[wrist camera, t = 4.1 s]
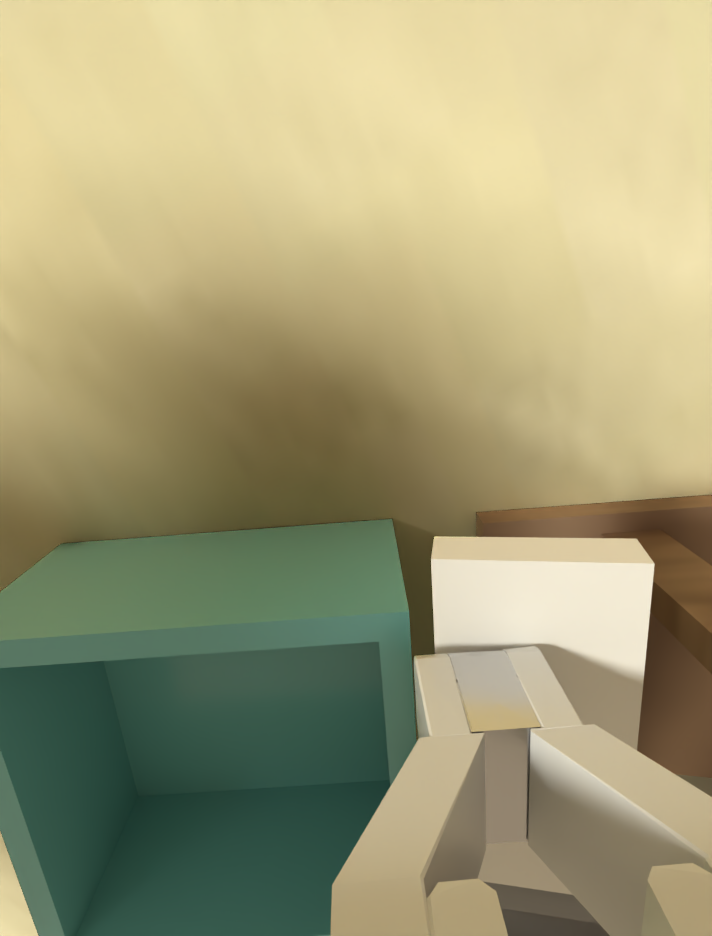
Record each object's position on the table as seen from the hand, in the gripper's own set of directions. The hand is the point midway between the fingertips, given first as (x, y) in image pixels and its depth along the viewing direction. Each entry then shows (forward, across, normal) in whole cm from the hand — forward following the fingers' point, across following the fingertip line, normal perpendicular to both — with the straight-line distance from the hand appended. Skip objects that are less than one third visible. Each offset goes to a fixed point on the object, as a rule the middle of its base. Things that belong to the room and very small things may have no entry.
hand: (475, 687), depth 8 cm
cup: (+11, +6, +8) cm, 15 cm away
